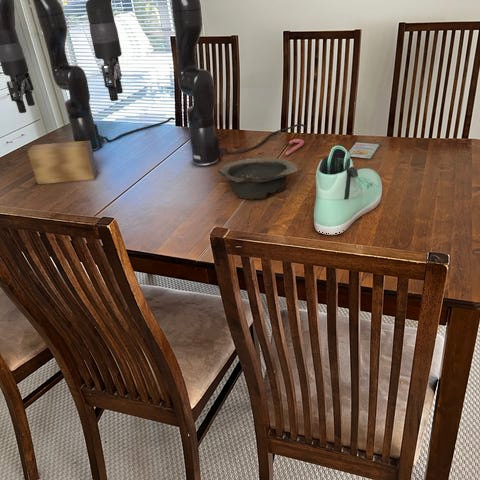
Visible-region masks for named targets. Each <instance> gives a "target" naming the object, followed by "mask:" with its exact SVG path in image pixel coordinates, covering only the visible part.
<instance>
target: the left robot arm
mask: <svg viewBox="0 0 480 480" xmlns="http://www.w3.org/2000/svg"><path fill="white" fill-rule="evenodd" d="M32 2H33V3H32V4H33V6H34V10H35V14H36V17H37V21H38V24H39V27H40V29H41V33H42V36H43V39H44V43H45V47H46V50H47V52H48V58H49V63H50V69H51V72H52V78H53V80H54V83H55V85H56V86H57V88H59V89H61V90H63V91H64V90H65V91H68V93H69V99H67V100H65V102H64V106H65V110H66V114H67V115H66V116H67V118H68V122H69V126H70V130H71V133H72V137H73V142H78V141H90V142H91V146H92V151H93V152H96V151H97V150H99V149H100V148H102V143H104V142H105V141H106V142H107V143H112V142H114V141H117V140H119V139H121V138H122V137H124V136H127V135H130V134H133V133H136V132H139V131H143V130H147V129H150V128H154V127H158V126H162V125H165V124H168V123H169V122H170V121H171V120H172V121H176V118H175V117H169V118H167V120H164V121H161V122H157V123H154V124H150V125H147V126H142V127H138V128H135V129H132V130H130V131H127V132H123V133H120V134H119V135H117V136H115V137H114V138H112V139H109V138H108V137H107V136H104V135H101V134H100V133H99V129H98V125H97V123H95V121H94V116H93V113H92V108H91V104H90V102H91V101H90V100H91V94H90V89H89V83H88V78H87V75H86V72H85V70H84V69H83V68H82V67H81V66H79V65H72V64H70V63H69V60H68V57H67V52H66V41H67V36H68V24H67V19H66V16H65V13H64V9H63V6H62V4H61V3H60V1H59V0H32ZM15 7H16V5H15V0H0V66H1V70H2V73H3V75H4V76H7V77H9V79H10V81H6V86H7V90H8V93H9V96H10V100H11V101H12V102H14V103H15V104H16V107H17V110H18V113H19V114H25V113H27V108H26V105H25V102H26V104H27V106H28V107H34V106H35V105H36V104H35V99H34V97H33V91H34V90H35V89H34V85H33V83H32V78H31V76H30V73H29V67H28V63H27V60H26V57H25V53H24V50H23V47H22V45H21V42H20V39H19V35H18V31H17V27H16V13H15V12H16V10H15V9H16V8H15ZM24 98H25V102H24Z"/></svg>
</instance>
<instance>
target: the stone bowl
mask: <svg viewBox="0 0 480 480" xmlns="http://www.w3.org/2000/svg"><path fill="white" fill-rule="evenodd" d="M298 170H299V169H298V167H297V166H296V164H295V163H293V162H291V161H289V160H287V159H281V158H272V157H271V158H269V157H255V158H243V159H239V160H235V161H232V162H231V161H230V162H228V163H225V164H223V165H222V166H221V168H220V169H219V170H217V173H219V174H220V175H221V176H223V177H224V178H226V179H227V180H228V182H229V186H230V188H231V190H232V191H234V192H235V193H236V196H237V198H239V199H241V200H243V199H245V200H251V201H252V200H255V199H257V200H262V199H264V198H266V197H267V196H268V193H269V194H273V193H281V192H282V191H284V190H285V189H284V188H285V185H286V183H287V182H286V181H287V177H289V176H290V175H292V174H294V173H296V172H297V171H298Z"/></svg>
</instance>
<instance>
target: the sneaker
mask: <svg viewBox="0 0 480 480" xmlns="http://www.w3.org/2000/svg"><path fill="white" fill-rule="evenodd" d="M348 152H349V151H348V150H347V148H345V147H344V146H342V145H334V146H333V147H331V149H330V151H329V154H327V155H326V156H325V157H324V158H322V159H321V160H320V161H319V163H318V164H317V165H318V166H317V168H316V172H315V201H314V207H313V225H314V229H315V231H316V232H318V233H320V234H323V235H326V236H327V235H328V236H336V235H339V234H342V233H344V232H345V231H347V230H348V229H349V228H350V227H351V226H352V225H353V224H354V222H356V221H357V220H358V219H359V218H360V217H362V216H363V215H365V214H367V213H370V212H372V210H374V209H375V208H377V207H378V205H380V203H381V200H382V196H383V184H382V183H383V182H382V179H381V176H380V175H379V173H378V172H377V171H376V170H374V169H372V168H367V167H365V168H358V169H357V168H355V167H354V161H353V159H352V158H351V156H349V153H348ZM343 230H344V231H343ZM319 231H320V232H319ZM322 232H323V233H322ZM339 232H340V233H339ZM326 233H327V234H326ZM328 233H329V234H328ZM335 233H337V234H335Z"/></svg>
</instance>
